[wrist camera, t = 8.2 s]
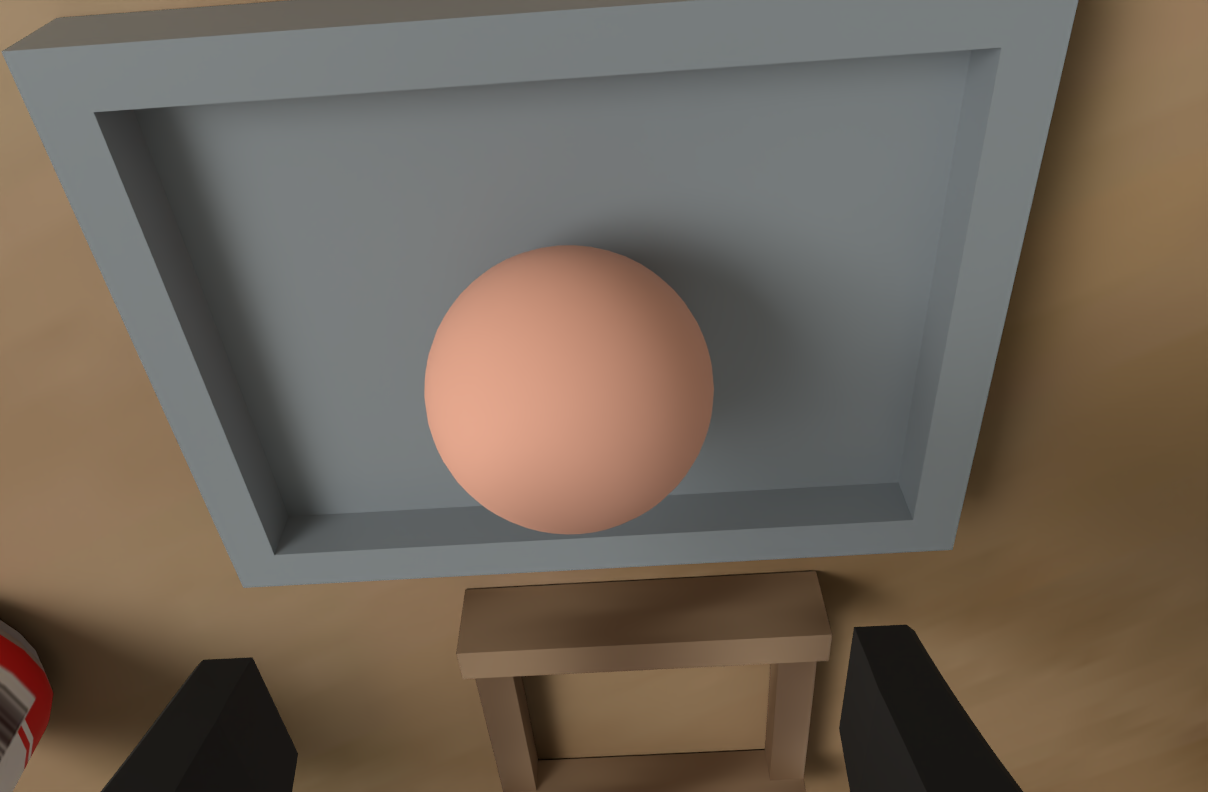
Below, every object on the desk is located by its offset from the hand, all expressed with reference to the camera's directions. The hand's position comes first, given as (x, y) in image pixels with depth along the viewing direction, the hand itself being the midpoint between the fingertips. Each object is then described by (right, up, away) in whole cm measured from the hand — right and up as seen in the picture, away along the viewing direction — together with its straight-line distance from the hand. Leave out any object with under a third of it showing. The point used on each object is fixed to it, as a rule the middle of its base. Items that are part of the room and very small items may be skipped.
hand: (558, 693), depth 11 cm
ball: (0, +4, +5) cm, 6 cm away
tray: (0, +6, +7) cm, 9 cm away
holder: (+2, -5, +15) cm, 16 cm away
